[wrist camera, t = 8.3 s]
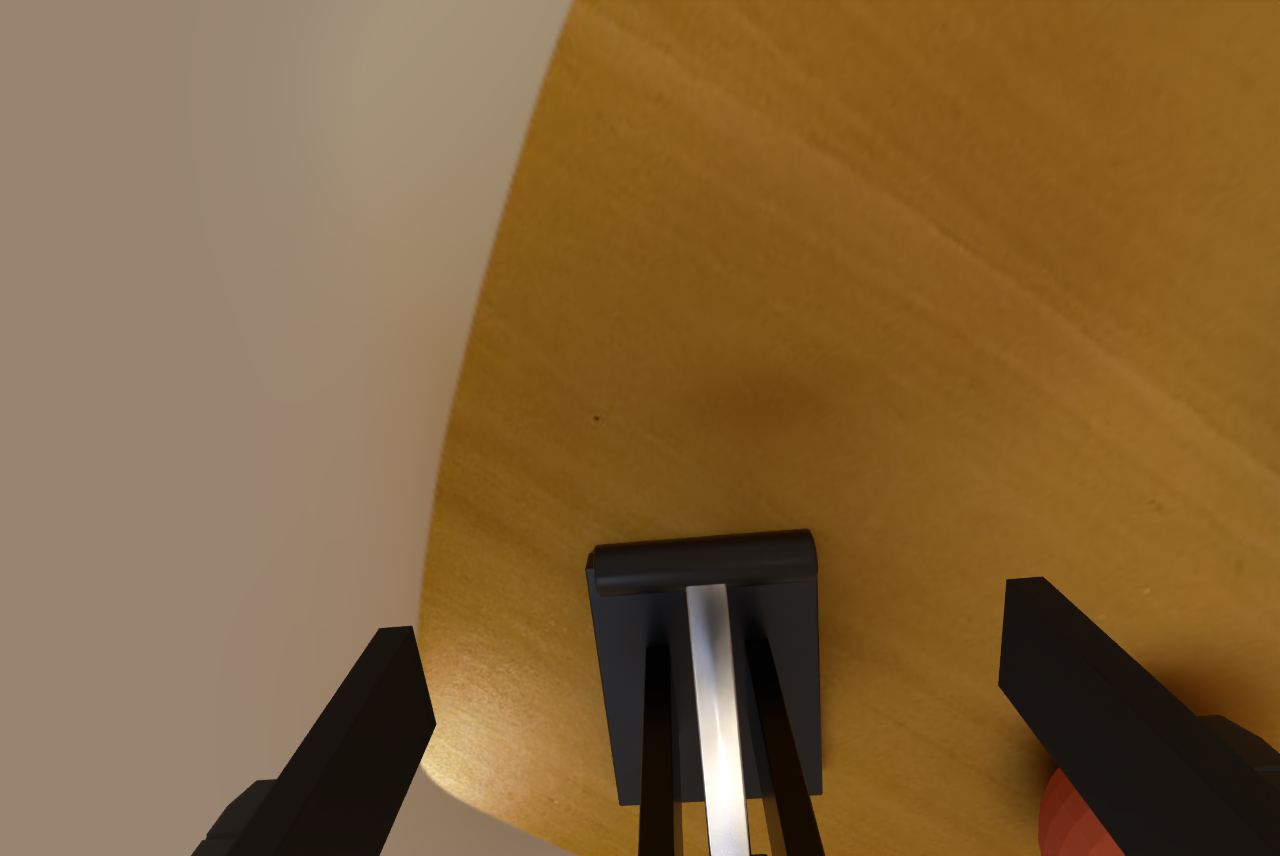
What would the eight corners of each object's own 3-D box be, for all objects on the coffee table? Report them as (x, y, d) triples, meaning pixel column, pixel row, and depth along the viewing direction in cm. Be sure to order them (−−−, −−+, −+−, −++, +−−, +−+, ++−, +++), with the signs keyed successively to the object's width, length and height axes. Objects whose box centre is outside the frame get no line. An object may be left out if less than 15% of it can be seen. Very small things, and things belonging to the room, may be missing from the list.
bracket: (588, 552, 26) (525, 834, 14) (809, 535, 26) (943, 812, 14) (621, 782, 30) (593, 1167, 18) (816, 772, 29) (927, 1160, 17)
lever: (600, 539, 19) (588, 551, 17) (801, 523, 19) (818, 533, 16) (634, 958, 19) (627, 1032, 16) (843, 950, 18) (868, 1024, 16)
